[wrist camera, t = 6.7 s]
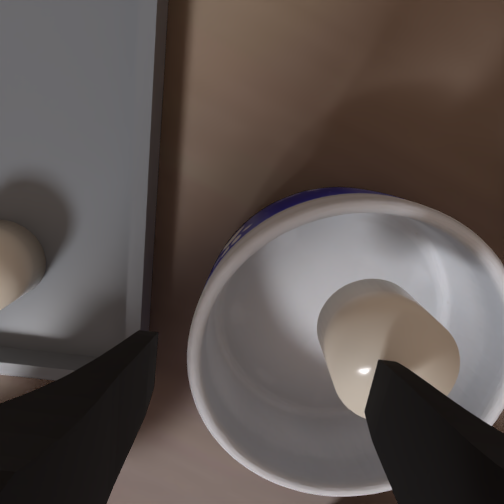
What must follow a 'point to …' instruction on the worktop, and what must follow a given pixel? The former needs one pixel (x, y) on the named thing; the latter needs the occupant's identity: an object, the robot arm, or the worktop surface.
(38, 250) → the pebble
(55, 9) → the parts tray
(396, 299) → the pebble
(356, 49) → the worktop surface
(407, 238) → the dog bowl
